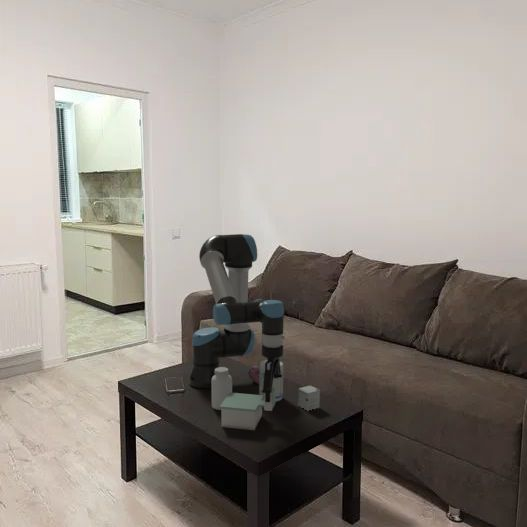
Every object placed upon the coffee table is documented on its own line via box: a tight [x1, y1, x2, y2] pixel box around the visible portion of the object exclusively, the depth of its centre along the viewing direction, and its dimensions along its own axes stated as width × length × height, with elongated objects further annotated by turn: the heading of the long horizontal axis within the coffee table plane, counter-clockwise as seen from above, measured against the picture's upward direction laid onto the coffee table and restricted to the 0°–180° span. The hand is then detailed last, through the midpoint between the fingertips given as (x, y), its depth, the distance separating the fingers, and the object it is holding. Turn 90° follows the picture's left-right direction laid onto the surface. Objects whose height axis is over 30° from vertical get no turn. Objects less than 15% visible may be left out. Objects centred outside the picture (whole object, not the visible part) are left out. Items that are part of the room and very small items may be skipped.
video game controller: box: [247, 365, 260, 385], centre depth 229 cm, size 10×5×7 cm, turn 163°
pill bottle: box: [211, 366, 233, 411], centre depth 200 cm, size 8×8×15 cm
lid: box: [220, 387, 276, 412], centre depth 186 cm, size 13×18×7 cm
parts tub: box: [220, 407, 263, 431], centre depth 187 cm, size 12×12×7 cm
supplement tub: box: [258, 359, 284, 403], centre depth 208 cm, size 10×10×15 cm
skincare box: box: [297, 385, 321, 412], centre depth 200 cm, size 6×6×7 cm
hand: (272, 402), depth 184 cm, fingers open, 13 cm apart
